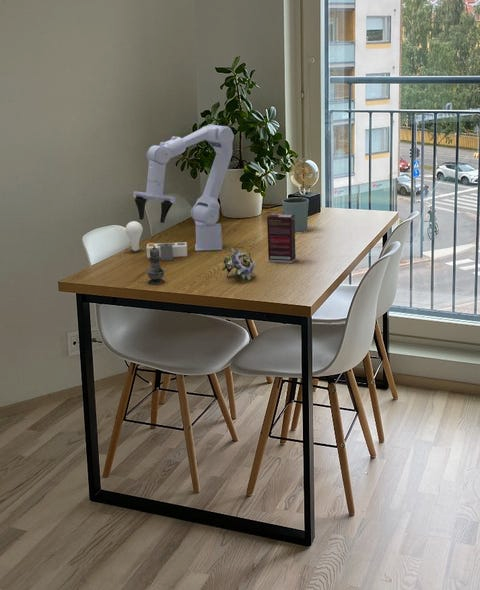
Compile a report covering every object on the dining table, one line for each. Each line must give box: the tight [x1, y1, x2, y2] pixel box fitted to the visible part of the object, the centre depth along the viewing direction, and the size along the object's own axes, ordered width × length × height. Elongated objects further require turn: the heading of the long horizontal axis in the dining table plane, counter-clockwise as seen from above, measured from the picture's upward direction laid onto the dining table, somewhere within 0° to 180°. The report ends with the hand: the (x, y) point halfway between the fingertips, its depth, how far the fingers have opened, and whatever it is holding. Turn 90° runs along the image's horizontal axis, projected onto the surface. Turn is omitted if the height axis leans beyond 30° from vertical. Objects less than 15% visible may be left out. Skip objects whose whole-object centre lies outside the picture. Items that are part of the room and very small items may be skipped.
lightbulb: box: [125, 220, 144, 252], centre depth 320 cm, size 6×6×11 cm
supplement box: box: [266, 213, 297, 264], centre depth 301 cm, size 9×5×16 cm, turn 71°
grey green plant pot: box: [281, 196, 310, 234], centre depth 343 cm, size 10×10×12 cm
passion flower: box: [222, 247, 256, 281], centre depth 284 cm, size 11×11×12 cm
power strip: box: [146, 241, 188, 259], centre depth 315 cm, size 14×6×4 cm, turn 94°
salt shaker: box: [146, 246, 166, 285], centre depth 282 cm, size 6×6×12 cm
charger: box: [160, 242, 174, 262], centre depth 310 cm, size 4×6×5 cm
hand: (151, 220), depth 307 cm, fingers open, 7 cm apart
